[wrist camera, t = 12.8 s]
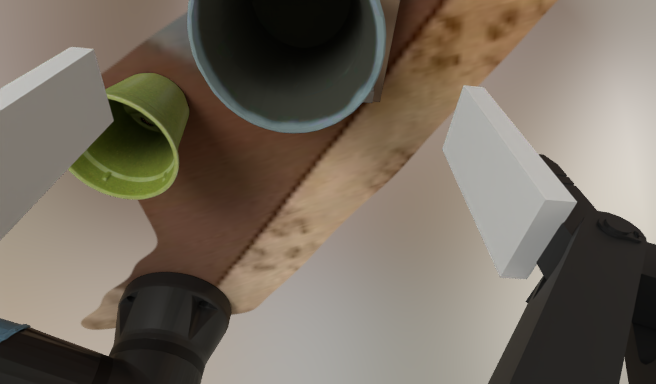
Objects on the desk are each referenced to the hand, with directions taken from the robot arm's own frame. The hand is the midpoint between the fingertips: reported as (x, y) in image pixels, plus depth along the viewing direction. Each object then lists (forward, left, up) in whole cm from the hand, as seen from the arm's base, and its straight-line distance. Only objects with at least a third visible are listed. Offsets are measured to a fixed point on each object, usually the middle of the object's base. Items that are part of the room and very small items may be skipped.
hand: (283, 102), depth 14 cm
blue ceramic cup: (0, 0, -19) cm, 19 cm away
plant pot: (-11, +14, -20) cm, 27 cm away
